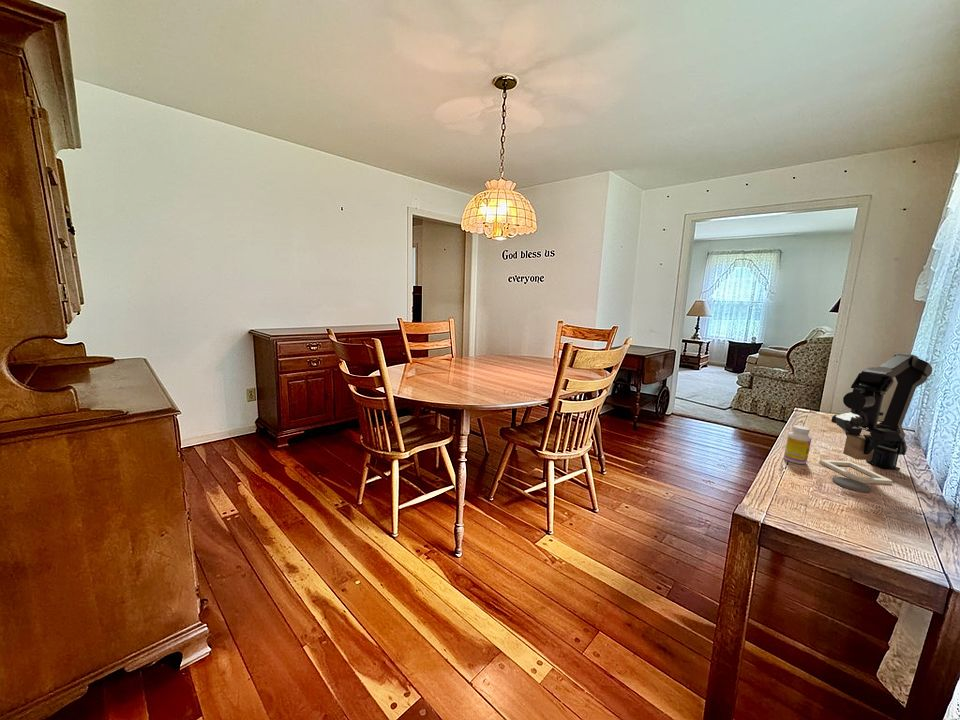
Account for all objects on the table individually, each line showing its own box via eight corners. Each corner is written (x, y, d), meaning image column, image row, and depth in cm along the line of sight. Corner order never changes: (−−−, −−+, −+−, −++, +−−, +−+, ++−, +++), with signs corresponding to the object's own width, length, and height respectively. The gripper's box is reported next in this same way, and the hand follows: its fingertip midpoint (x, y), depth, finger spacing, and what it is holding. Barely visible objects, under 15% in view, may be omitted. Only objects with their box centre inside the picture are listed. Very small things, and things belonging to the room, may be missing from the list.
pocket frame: (849, 464, 141) (850, 461, 141) (891, 484, 126) (892, 480, 126) (819, 462, 141) (819, 459, 141) (858, 482, 126) (858, 478, 126)
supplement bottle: (807, 466, 137) (814, 432, 135) (783, 461, 141) (790, 427, 139) (805, 460, 142) (812, 427, 140) (783, 455, 146) (789, 423, 144)
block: (857, 454, 135) (861, 435, 134) (871, 460, 130) (876, 440, 129) (843, 453, 135) (847, 434, 134) (856, 459, 130) (861, 439, 129)
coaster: (852, 479, 128) (852, 477, 128) (879, 493, 119) (880, 491, 119) (825, 477, 128) (825, 476, 128) (850, 491, 119) (850, 489, 119)
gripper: (820, 398, 139) (812, 439, 141) (871, 414, 120) (860, 461, 123) (851, 400, 139) (842, 441, 141) (907, 416, 120) (895, 463, 123)
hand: (858, 451), depth 132 cm, fingers closed on block, 5 cm apart
